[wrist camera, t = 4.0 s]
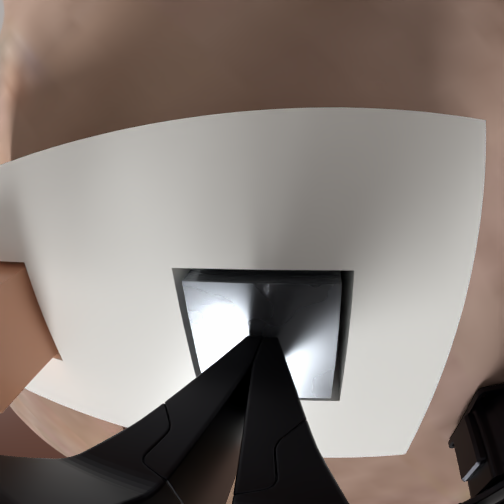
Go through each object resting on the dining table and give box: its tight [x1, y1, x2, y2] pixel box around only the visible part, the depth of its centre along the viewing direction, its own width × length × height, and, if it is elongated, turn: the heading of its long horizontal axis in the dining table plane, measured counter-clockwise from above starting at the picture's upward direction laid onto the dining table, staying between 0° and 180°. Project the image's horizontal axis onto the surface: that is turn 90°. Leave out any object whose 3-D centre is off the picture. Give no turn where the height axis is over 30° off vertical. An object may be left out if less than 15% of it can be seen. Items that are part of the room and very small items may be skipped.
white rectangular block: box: [0, 107, 486, 458], centre depth 12 cm, size 22×12×6 cm, turn 94°
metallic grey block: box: [182, 268, 342, 398], centre depth 11 cm, size 4×4×6 cm
